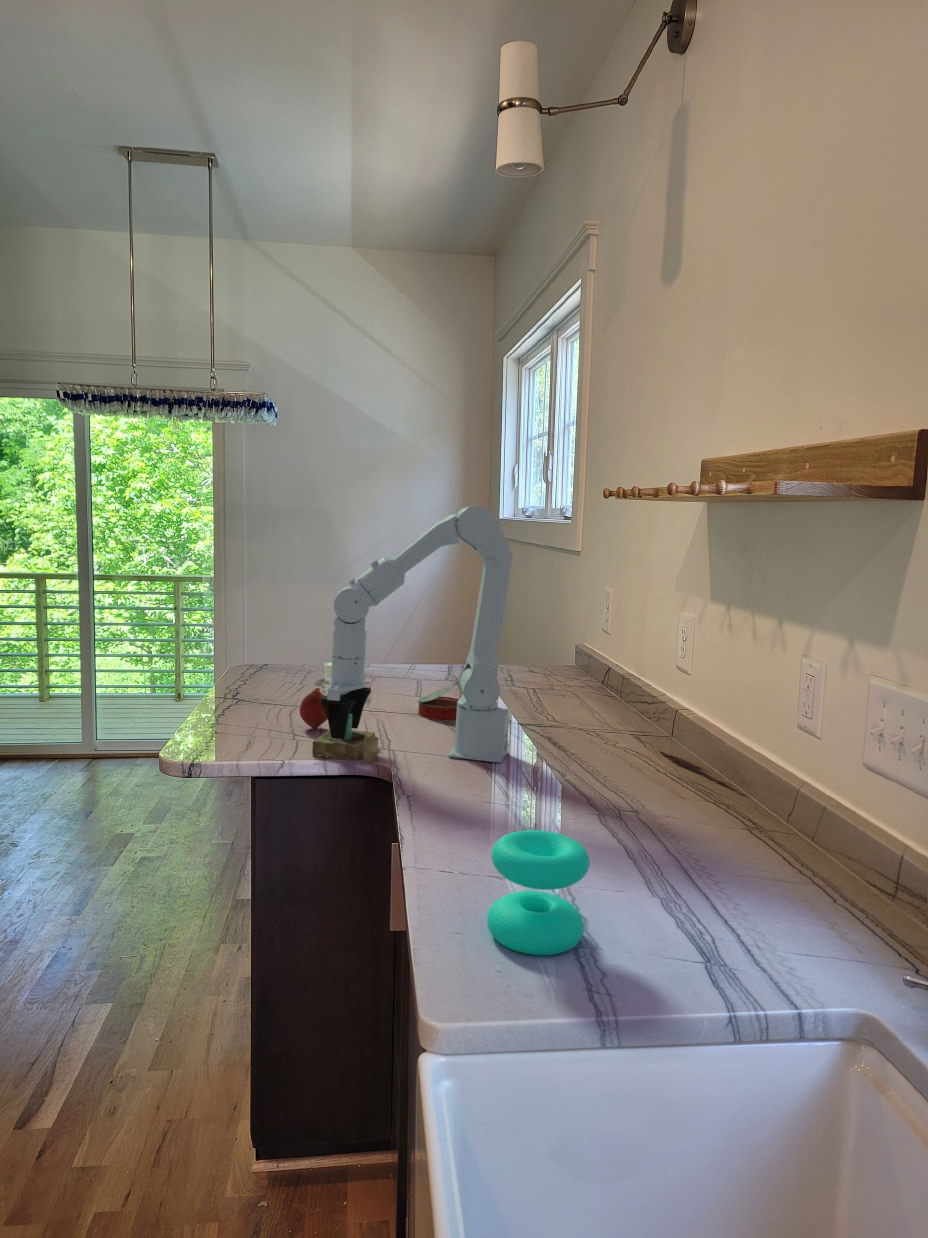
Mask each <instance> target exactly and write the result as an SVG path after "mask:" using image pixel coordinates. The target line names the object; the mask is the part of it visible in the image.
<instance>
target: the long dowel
mask: <svg viewBox="0 0 928 1238" xmlns="http://www.w3.org/2000/svg"><path fill="white" fill-rule="evenodd" d="M352 730H353V728H352V714H349V718H348V722H347V728H346V733H345V737H344V739H343V740H349V739H351V734H352Z"/></svg>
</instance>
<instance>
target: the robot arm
mask: <svg viewBox="0 0 928 1238" xmlns="http://www.w3.org/2000/svg"><path fill="white" fill-rule="evenodd" d="M501 525H502V524H501V523H500V520H498V519H497V518H496V517H495V516H494V515H493V513H492V512H491V511H489V510H488V509H487V508H486V507H483V506H479V505H466V506H462V507H461V508H459V509H458V510H457V511H456V512H455V513H454V514H450V515H447V516H446V517H445V518H443V519H441V520H440V521H438V522H437V523H435V524H434V525H433V526H432V527H430V528H429V529H428V530H426V531H425V532H424V533H423V534H422V535H421V536H419V537H418V538H417V539H416V540H415V541H413V542H412V543H411V544H410V545H409V546H408V547H407V548H405V549H404V550H403V551H402V552H400V553H399V554H398V555H397V556H396V557H394V558H390V557H389V558H387V557H382V558H381V559H379V560H377V559H376V558H375V559H374V560H372V561H371V562H370V566H371V567H369V568H368V569H366V570H365V571H364V572H362V573H361V574H360V576H358V577H357V578H356V579H355V578H353V577H352V578H351V579H350V580H349V581H348V584H349V585H350V586H345V587H344V588H341V589H340V590H339V591H338V592H337V593H336V595H335V598H334V600H333V609H334V613H335V614H336V615H335V617H334V619H333V626H334V628H333V630H332V645H331V646H332V647H331V648H332V649H331V662H332V665H331V678H327V679H325V678H324V681H323V684H324V685H325V684H329V686H330V687H329V688H328V695H324V696H323V697H321V704H322V706H323V708H324V710H325V712H326V715H327V723H328V729H329V730H330V734H331V738H336V739H344V737H345V733H346V728H347V722H348V718H349V714H352V729H353V730H356V729H358V728H359V725H360V722H361V718H362V715H363V711H364V708H365V704H366V702H367V700H368V698H369V696H370V694H371V692H372V689H371V687H365V686H366V674H365V664H366V645H367V644H366V643H367V631H366V629H365V628H366V617H367V615H368V613H369V609H370V608H371V607H377V606H378V605H379V604H380V603H381V602H383V601H384V600H385V599H387V598H388V597H389V596H390V595H392V593H394V592H396V591H397V590H398V589H399V588H401V587H402V586H403V585H404V584H405V575H406V573H407V572H409V571H411V569H412V568H414V567H415V566H417V565H418V564H420V563H421V562H422V561H424V560H426V558H427V557H429V556H430V555H432V554H433V553H435V552H436V551H437V550H439V549H440V548H441V547H444V546H450V545H456V544H461V542H460V540H461V541H463V542H464V543H466V544H468V545H469V546H470V547H472V549H473V550H474V552H475V553H476V554H477V555H478V557H479V558H480V559H481V560H482V563H483V565H482V572H481V578H480V579H481V580H480V585H479V591H478V598H477V603H476V610H475V611H476V612H475V618H474V623H473V624H474V625H473V631H472V636H471V637H472V638H471V643H470V649H469V650H468V651H469V652H468V655H467V657H466V662H465V665H464V668H463V669H462V670H461V672H460V673H459V675H458V680H457V684H458V687H459V690H460V691H461V693H462V695H461V697H460V698H458V699H459V700H458V701H457V715H456V720H455V732H454V733H455V734H454V746H453V748H451V750H450V752H449V753H448V757H450V758H454V759H455V758H456V759H465V760H472V761H473V760H474V761H480V762H481V761H483V762H491V763H498V764H499V763H502V762H503V761H504V758H505V756H506V755H507V754H508V747H509V731H510V730H509V728H510V727H509V726H510V710H509V709H508V708H502V707H499V705H498V704H499V703H498V699H499V698H500V694H501V688H500V684H499V681H498V672H499V663H498V652H499V645H500V639H501V634H502V628H503V619H504V614H505V608H506V603H507V602H506V600H507V594H508V591H509V590H508V588H509V583H510V575H511V570H512V563H513V552H512V549H511V548H510V546H509V543H508V540H507V539H506V536H505V534H504V532H503V529H502V526H501Z"/></svg>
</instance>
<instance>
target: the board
mask: <svg viewBox="0 0 928 1238" xmlns="http://www.w3.org/2000/svg"><path fill="white" fill-rule="evenodd" d="M366 736H375V737H376V733H375V732H374V731H366V730H365V731H364V730H356V729H352V734H351V739H349V740H343V739H336V738H331V734H330V729H329V730H327V731H326V732H324V733H322V734H321V735H320V736H319V737H317V738H316V739H314V740H313V741H312V749H311V750H312V751H311V753H312V754H313V755H321V756H326V757H325V758H328V757H334V758H333V759H337V758H339V759H338V760H347V761H352V762H353V761H354V762H356V761H357V762H358V761H359V760H360V759H361V758H363V751H364V737H366ZM312 754H311V755H312ZM327 756H328V757H327Z"/></svg>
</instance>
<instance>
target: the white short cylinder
mask: <svg viewBox="0 0 928 1238" xmlns="http://www.w3.org/2000/svg"><path fill="white" fill-rule="evenodd" d="M331 665H332V661H327V662H324V663H323V666H324V667H323V670H324V672H323V673H324V680H325V679H327V678H331ZM324 687H325V688H324V689H325V690H324V691H325V695H326V694H327V695H328V688H329V687H330V686H329V684H324ZM327 695H326V696H327Z"/></svg>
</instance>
